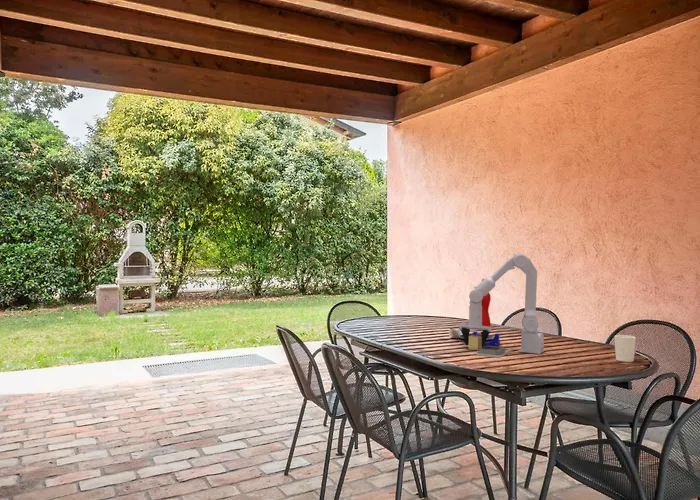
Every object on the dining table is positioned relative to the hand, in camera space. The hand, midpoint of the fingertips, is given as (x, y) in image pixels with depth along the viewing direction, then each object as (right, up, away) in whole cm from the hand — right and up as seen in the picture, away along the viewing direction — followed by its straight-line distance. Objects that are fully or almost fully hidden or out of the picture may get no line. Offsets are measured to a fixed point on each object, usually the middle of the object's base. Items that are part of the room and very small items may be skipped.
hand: (475, 345), depth 257 cm
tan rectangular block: (0, -2, 0) cm, 2 cm away
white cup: (+58, -3, -22) cm, 62 cm away
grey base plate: (+7, -2, -10) cm, 12 cm away
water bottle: (+18, -1, +67) cm, 69 cm away
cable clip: (+8, -2, +11) cm, 13 cm away
